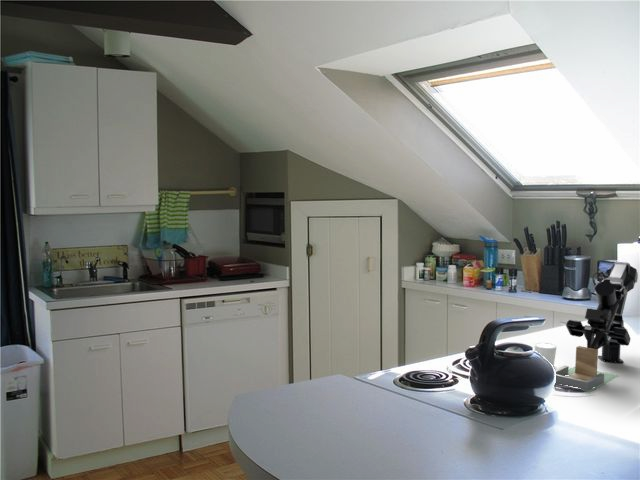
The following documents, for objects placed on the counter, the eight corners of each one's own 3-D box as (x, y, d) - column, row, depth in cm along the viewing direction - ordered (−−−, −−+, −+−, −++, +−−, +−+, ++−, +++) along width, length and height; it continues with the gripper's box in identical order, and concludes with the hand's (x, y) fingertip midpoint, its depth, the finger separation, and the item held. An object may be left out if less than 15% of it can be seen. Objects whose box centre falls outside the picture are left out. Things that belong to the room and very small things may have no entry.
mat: (575, 367, 226) (575, 366, 226) (619, 376, 216) (619, 375, 216) (544, 382, 210) (544, 381, 210) (589, 393, 200) (589, 392, 200)
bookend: (577, 373, 217) (579, 345, 216) (596, 378, 213) (598, 349, 212) (561, 381, 210) (563, 352, 208) (581, 386, 205) (582, 356, 204)
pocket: (564, 373, 218) (564, 365, 218) (603, 382, 209) (604, 374, 209) (547, 381, 210) (547, 373, 209) (587, 391, 201) (587, 382, 201)
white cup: (552, 363, 230) (553, 342, 229) (557, 369, 223) (558, 348, 222) (531, 362, 230) (532, 342, 230) (536, 368, 224) (536, 347, 223)
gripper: (569, 294, 223) (552, 333, 216) (629, 303, 210) (612, 345, 203) (579, 315, 230) (562, 353, 223) (637, 324, 217) (621, 365, 210)
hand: (588, 354), depth 215 cm, fingers closed, pressing on bookend
